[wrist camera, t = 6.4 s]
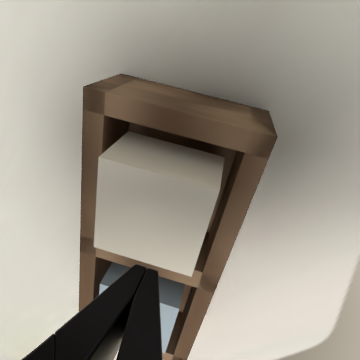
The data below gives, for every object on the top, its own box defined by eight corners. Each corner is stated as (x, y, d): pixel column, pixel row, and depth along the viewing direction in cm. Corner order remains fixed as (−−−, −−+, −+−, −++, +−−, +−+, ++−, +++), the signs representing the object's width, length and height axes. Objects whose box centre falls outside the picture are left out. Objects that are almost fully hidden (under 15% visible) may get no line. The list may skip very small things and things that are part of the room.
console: (268, 111, 17) (277, 137, 13) (192, 315, 28) (183, 366, 24) (120, 73, 18) (83, 86, 14) (102, 287, 29) (78, 331, 25)
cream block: (224, 156, 16) (219, 190, 13) (200, 232, 19) (191, 277, 16) (128, 131, 17) (98, 156, 13) (119, 209, 20) (93, 247, 16)
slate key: (188, 267, 23) (179, 308, 19) (175, 310, 26) (164, 353, 22) (121, 246, 23) (99, 283, 20) (115, 291, 26) (96, 330, 23)
